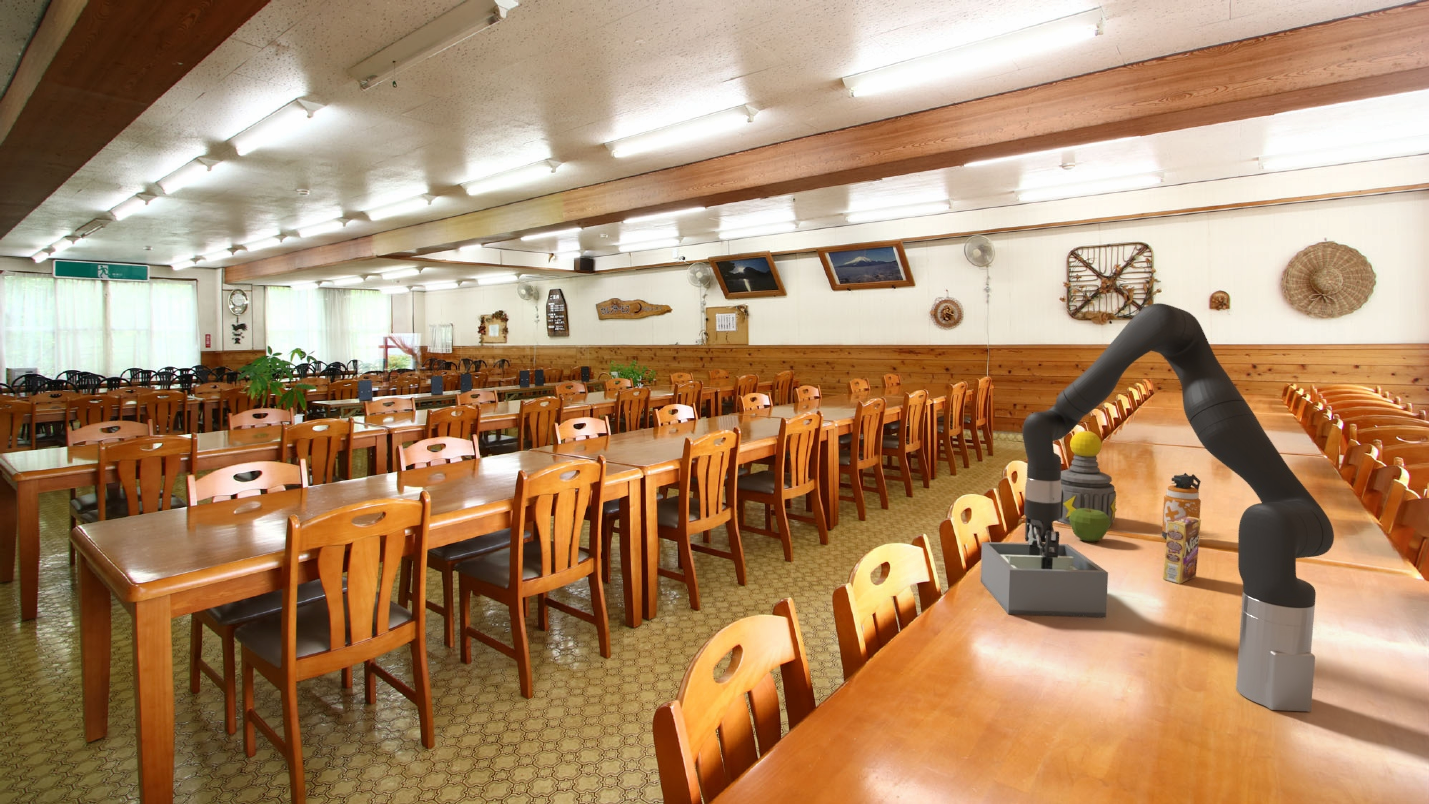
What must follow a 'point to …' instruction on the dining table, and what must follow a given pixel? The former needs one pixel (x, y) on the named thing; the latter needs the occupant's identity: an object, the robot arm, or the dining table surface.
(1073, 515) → the apple
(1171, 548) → the candy box
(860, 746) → the dining table surface
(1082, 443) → the decorative lamp
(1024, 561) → the small crate
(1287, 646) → the robot arm
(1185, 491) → the canister
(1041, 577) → the big crate
